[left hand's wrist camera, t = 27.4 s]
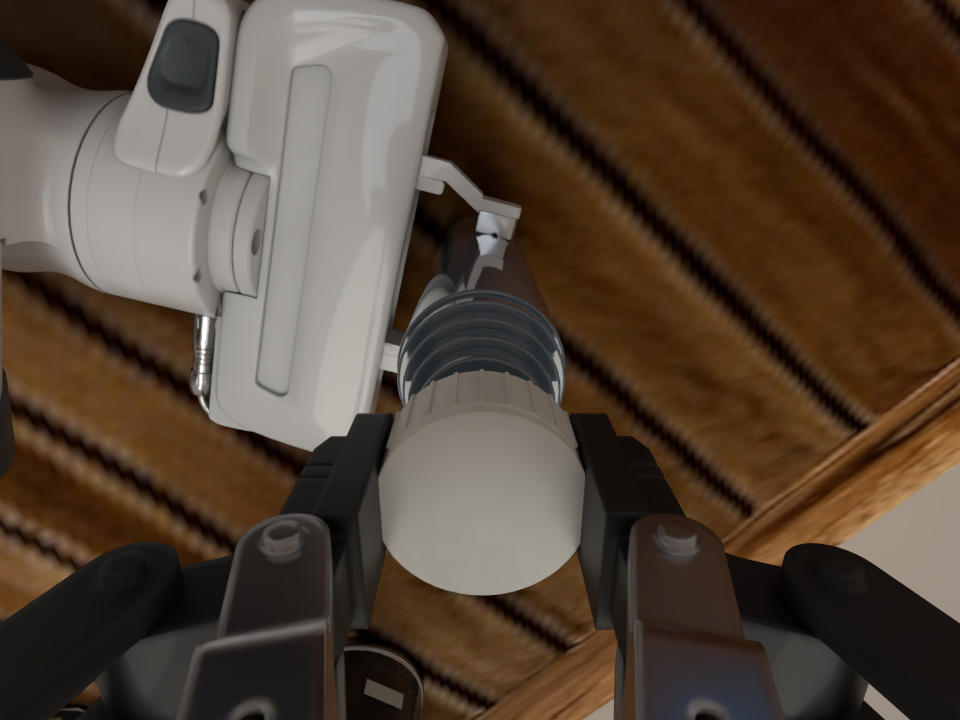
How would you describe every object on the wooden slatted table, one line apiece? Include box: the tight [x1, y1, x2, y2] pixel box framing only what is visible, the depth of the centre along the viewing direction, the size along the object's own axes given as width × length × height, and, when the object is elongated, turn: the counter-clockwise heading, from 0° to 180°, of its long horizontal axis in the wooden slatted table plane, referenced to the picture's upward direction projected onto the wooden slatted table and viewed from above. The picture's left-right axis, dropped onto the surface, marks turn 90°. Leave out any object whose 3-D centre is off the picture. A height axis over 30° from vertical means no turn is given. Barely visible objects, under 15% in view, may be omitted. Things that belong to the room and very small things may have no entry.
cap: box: [378, 369, 585, 595], centre depth 11 cm, size 4×4×2 cm
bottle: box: [397, 215, 566, 407], centre depth 22 cm, size 5×5×23 cm
